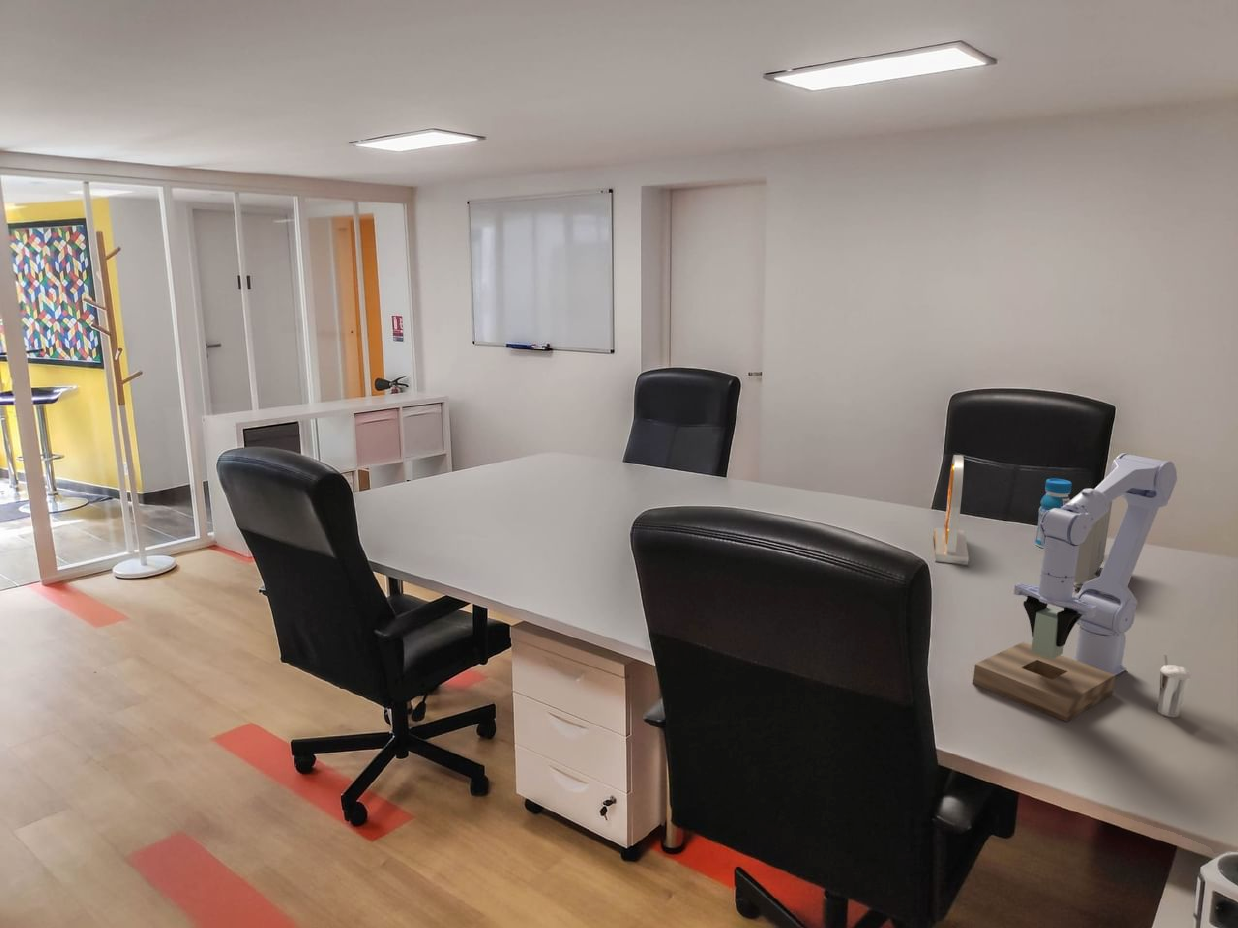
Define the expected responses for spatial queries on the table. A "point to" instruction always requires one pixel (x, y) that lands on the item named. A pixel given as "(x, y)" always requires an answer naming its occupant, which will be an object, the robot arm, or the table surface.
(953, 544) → the award
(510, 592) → the table surface
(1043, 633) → the peg
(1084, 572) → the network device
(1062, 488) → the beverage bottle
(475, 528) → the table surface
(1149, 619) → the table surface
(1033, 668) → the socket block
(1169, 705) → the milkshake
